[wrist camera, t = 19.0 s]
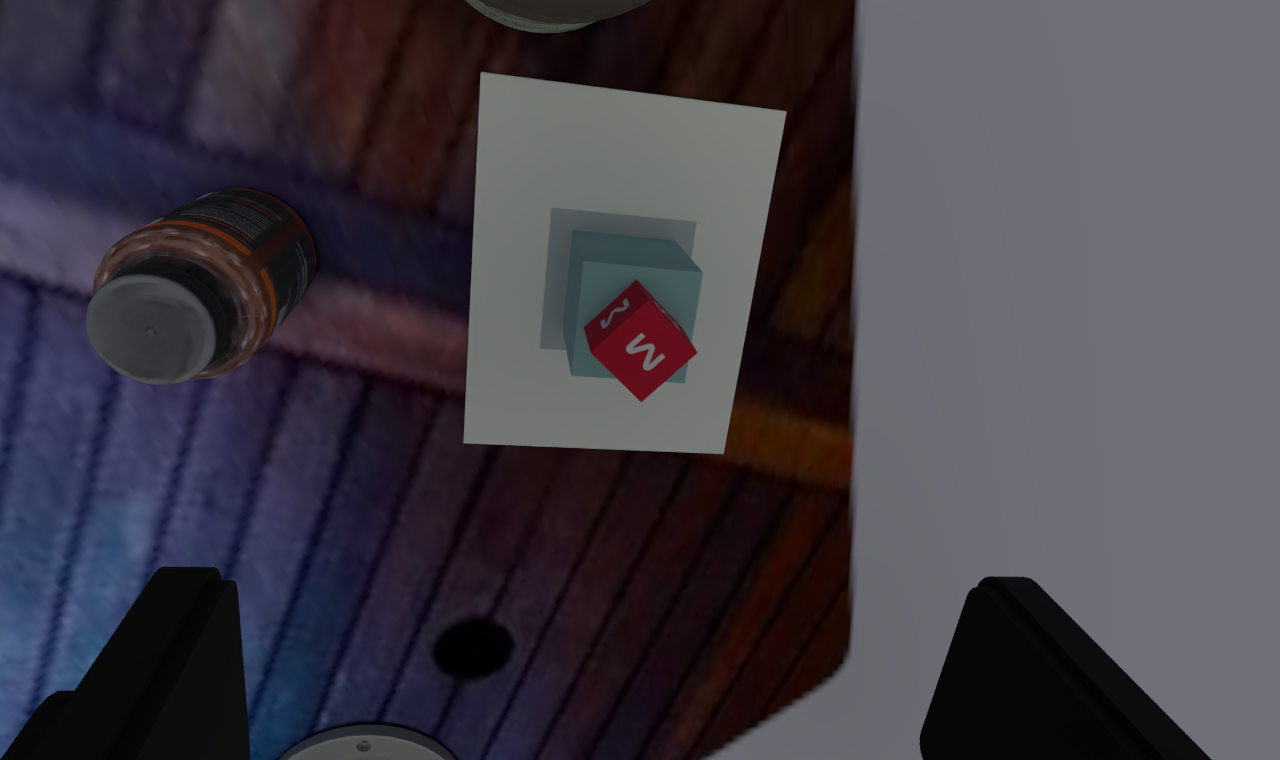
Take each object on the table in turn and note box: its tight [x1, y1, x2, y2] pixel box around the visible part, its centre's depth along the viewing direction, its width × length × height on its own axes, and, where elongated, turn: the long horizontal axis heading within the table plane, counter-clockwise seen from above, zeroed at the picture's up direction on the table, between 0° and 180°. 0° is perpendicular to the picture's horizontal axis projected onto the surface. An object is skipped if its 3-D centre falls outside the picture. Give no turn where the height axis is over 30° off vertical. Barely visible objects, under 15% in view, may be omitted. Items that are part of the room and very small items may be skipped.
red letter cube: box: [584, 280, 697, 402], centre depth 32 cm, size 3×3×3 cm
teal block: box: [563, 230, 703, 383], centre depth 36 cm, size 5×5×6 cm
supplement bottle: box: [86, 188, 316, 385], centre depth 31 cm, size 6×6×11 cm
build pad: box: [464, 72, 786, 454], centre depth 39 cm, size 18×14×1 cm
